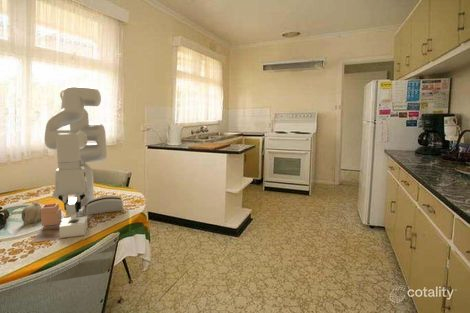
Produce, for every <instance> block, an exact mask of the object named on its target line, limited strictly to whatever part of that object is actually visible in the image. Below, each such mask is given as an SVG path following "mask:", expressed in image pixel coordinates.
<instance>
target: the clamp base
mask: <svg viewBox="0 0 470 313" xmlns="http://www.w3.org/2000/svg"><path fill="white" fill-rule="evenodd" d="M85 213H86V206H81V209H80V210H79V212H76V214H77V217H87V221H88V219H89V217H90V215H86V214H85ZM66 218H67V217H65V218H62V219H61V221H60V222H59V224H57V225H48V226H44V227H43V226H42V227H43V230H45V229H55V228H59V226H60V225H61V223H62V222H63V220H64V219H66Z"/></svg>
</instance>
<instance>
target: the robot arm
mask: <svg viewBox="0 0 470 313" xmlns="http://www.w3.org/2000/svg"><path fill="white" fill-rule="evenodd" d="M59 96H60V99H61V107H60V111H59V112H57V113H55V114H54V115H52V116H51V117H50V119H49V120H47V122H46V125H45V132H44V145H45V147H47V149H49V150H56V156H57V158H56V159H57V169H56V170H55V178H54V179H55V182H54V191H53V193H52V195H51V196H52V198H56V199H58V200H60V201H61V202H62V203H63V206H64V207H63V208H64V211H66V203H67V202H68V200H69V196H73V197H77V200H76V201H77V202H76V207H77V212H79V210H80V209H81V207H82V206H85V207H86V206H87V202H88V201H90V200H92V199H95V198H96V197H95V191H94V190H95V188H94V171H93V168H92V167H91V166H90V164H88V163H95V162H97V163H98V162H103V161H106V159H107V138H106V137H107V136H106V135H107V134H106V130H105V127H104V124H102V123H97V122H96V123H95V122H93V123H92V122H90V120H89V113H88V111H87V110H86V108H85V107H98V106H100V105H101V102H102V97H101V96H102V95H101V92H100V91H99V89H97V88H95V87H89V86H73V85H72V86H67V87H64V88H61V89H60V91H59ZM66 126H69V129H68V130H61V128H63V127H66ZM88 142H95V143H88Z"/></svg>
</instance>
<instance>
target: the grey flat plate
mask: <svg viewBox="0 0 470 313" xmlns="http://www.w3.org/2000/svg"><path fill="white" fill-rule="evenodd" d="M91 220H92V217H91V216H89V219H88V221H87V225H88V226H89V225H90V222H91ZM41 227H42V228H41V229H40V230H39V231H38V232H37V234H36V235H35V236H34V238H33V239H32V240H31V241H30V243H38V242H47V241H55V240H56V241H57V240H64V239H72V238H73V239H74V238H82V237H85V235H81V236H72V237H64V238H60V229H59V228H55V229H45V230H43V227H44V226H41Z"/></svg>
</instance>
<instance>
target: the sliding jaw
mask: <svg viewBox="0 0 470 313" xmlns="http://www.w3.org/2000/svg"><path fill="white" fill-rule="evenodd" d="M61 219H63V218H62V209H61V208H60V206H59V202H57V203H45V204H43V205H42V206H41V220H40V221H41V227H43V226H48V225H57V224H59V222H60V221H61Z"/></svg>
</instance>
